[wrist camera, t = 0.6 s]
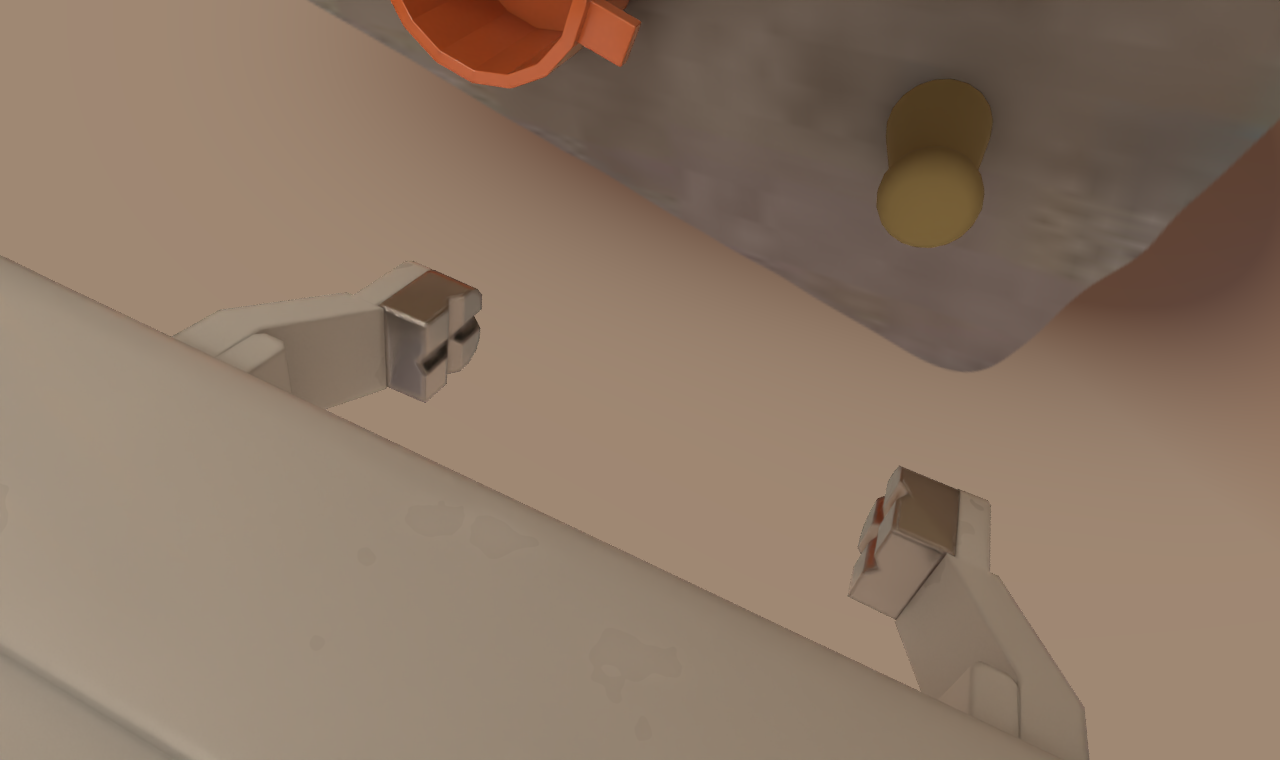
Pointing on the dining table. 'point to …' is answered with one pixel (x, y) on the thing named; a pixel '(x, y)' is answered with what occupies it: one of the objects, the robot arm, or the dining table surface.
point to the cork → (934, 163)
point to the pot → (517, 35)
